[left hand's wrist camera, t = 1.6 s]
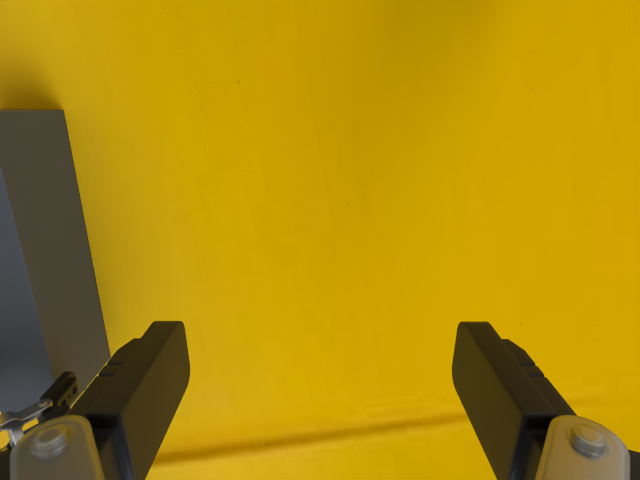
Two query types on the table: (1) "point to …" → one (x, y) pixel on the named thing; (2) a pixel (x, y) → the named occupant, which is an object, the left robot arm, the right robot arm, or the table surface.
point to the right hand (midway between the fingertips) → (26, 378)
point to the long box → (43, 263)
